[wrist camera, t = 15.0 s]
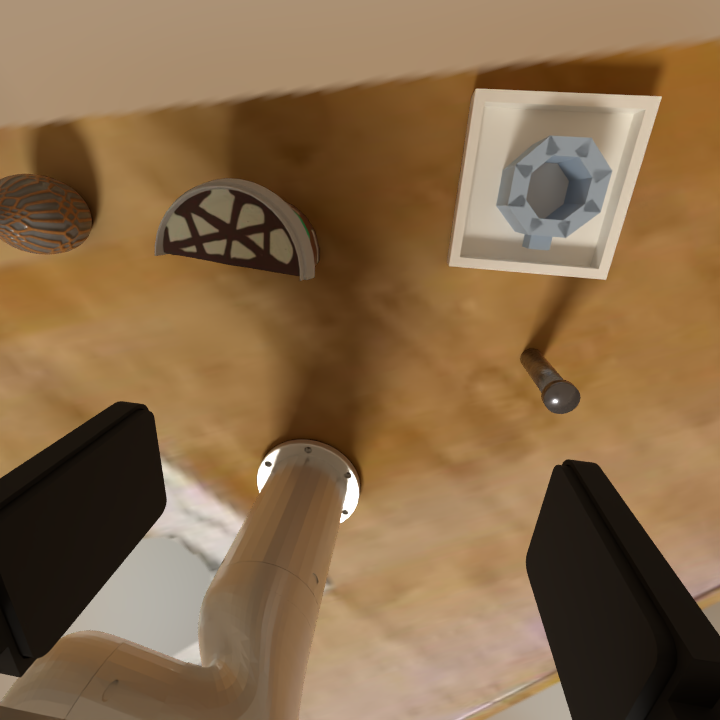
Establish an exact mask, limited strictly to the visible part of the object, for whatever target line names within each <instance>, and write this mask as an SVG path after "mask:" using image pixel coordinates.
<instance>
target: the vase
mask: <svg viewBox="0 0 720 720" xmlns="http://www.w3.org/2000/svg"><path fill="white" fill-rule="evenodd" d="M91 227H92V218H91V213H90V210H89V208H88V206H87V204H86V202H85V201H84V200H83V198H82V197H81V196H80V195H79V194H78V193H77V192H76V191H75V190H74V189H72V188H71V187H69V186H68V185H66V184H64V183H63V182H60V181H58V180H56V179H53V178H50V177H47V176H42V175H35V174H17V175H12V176H8V177H5V178H2V179H0V239H1V240H2V241H4V242H6V243H7V244H9V245H11V246H13V247H15V248H17V249H20V250H23V251H26V252H30V253H36V254H58V253H63V252H67V251H70V250H72V249H75V248H76V247H78V246H79V245H81V244H82V243H83V242H84V241H85V240H86V239H87V238H88V236H89V234H90V231H91Z"/></svg>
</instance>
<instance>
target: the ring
mask: <svg viewBox="0 0 720 720" xmlns="http://www.w3.org/2000/svg"><path fill="white" fill-rule="evenodd" d="M544 163H557V164H558V165H559V167H560V168H561V170H562V171H563V173H564V174H565V176H566V177H567V179H568V180H569V184H568V188H567V192H566V196H565V200H564V204H563V205H562V206H560V207H559V208H558V209H556V210H555V211H554V212H553V213H551V214H550V215H549V216H547V217H546V218H545V219H543V218H538V216H537V215H536V213H535V212H534V211H533V209H532V208H531V206H530V205H529V203H528V202H527V201H526V197H527V192H528V187H529V182H530V178H531V173H533V172H534V171H535V170H536V169H538V168H539V167H540V166H541V165H542V164H544ZM611 174H612V169H611V168H610V166H609V165H608V163H607V162H606V160H605V158H604V157H603V155H602V154H601V152H600V150H599V149H598V147H597V146H596V144H595V143H594V141H593V139H592V138H585V137H567V136H551V135H550V136H548V137H546V138H544V139H542V140H540V141H539V142H537V143H535V144H533V145H532V146H531V147H529V148H528V149H527V150H526V151H525V152H524V153H522V154H521V155H520V156H519V157H518V158H516V159H515V160H514V161H513V162H512V163H511V164H509V165H508V166H507V167H506V168H505V169H503V170H502V176H501V182H500V187H499V193H498V198H497V203H496V206H497V208H498V209H499V211H500V212H501V213H502V215H503V216H504V217H505V219H506V220H507V222H508V223H509V224H510V226H511V227H512V229H513V230H514V231H515V232H518V233H522V234H525V235H524V240H523V244H522V247H525V248H528V249H537V250H549V249H550V245H551V241H552V237H562V238H567V237H568V236H569V235H570V234H572V233H573V232H574V231H576V230H577V229H579V228H580V227H581V226H583V225H584V224H585V223H587V222H588V221H589V220H591V219H592V218H594V217H595V216H596V215H598V214H599V213H601V209H602V206H603V202H604V198H605V195H606V191H607V188H608V184H609V181H610V177H611Z"/></svg>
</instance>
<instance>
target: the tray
mask: <svg viewBox="0 0 720 720" xmlns="http://www.w3.org/2000/svg"><path fill="white" fill-rule="evenodd" d="M661 98H662V97H660V96H637V95H614V94H591V93H568V92H545V91H522V90H499V89H475V91H474V93H473V95H472V97H471V103H470V110H469V116H468V123H467V130H466V136H465V143H464V150H463V157H462V163H461V170H460V177H459V184H458V190H457V197H456V204H455V210H454V217H453V224H452V231H451V237H450V244H449V251H448V258H447V263H448V265H449V266H454V267H466V268H477V269H489V270H500V271H512V272H523V273H535V274H546V275H558V276H569V277H581V278H592V279H604V280H606V278H607V275H608V271H609V268H610V265H611V262H612V258H613V255H614V252H615V249H616V245H617V242H618V239H619V235H620V232H621V229H622V226H623V222H624V219H625V216H626V212H627V209H628V206H629V203H630V199H631V196H632V193H633V190H634V186H635V183H636V180H637V176H638V173H639V170H640V167H641V163H642V160H643V157H644V153H645V150H646V147H647V144H648V140H649V137H650V134H651V130H652V127H653V124H654V121H655V117H656V114H657V111H658V108H659V104H660V101H661ZM550 135H551V136H567V137H585V138H592V139H593V141H594V143H595V144H596V146H597V147H598V149H599V150H600V152H601V154H602V155H603V157H604V158H605V160H606V162H607V163H608V165H609V166H610V168H611V169H612V174H611V177H610V181H609V184H608V188H607V191H606V195H605V198H604V202H603V206H602V209H601V213H599V214H598V215H596V216H595V217H594V218H592V219H591V220H589V221H588V222H587V223H585V224H584V225H583V226H581V227H580V228H579V229H577V230H576V231H574V232H573V233H572V234H570V235H569V236H568V237H567V238H562V237H552V241H551V245H550V249H549V250H537V249H528V248H525V247H522V244H523V240H524V235H525V234H522V233H518V232H515V231H514V230H513V229H512V227H511V226H510V224H509V223H508V222H507V220H506V219H505V217H504V216H503V215H502V213H501V212H500V211H499V209H498V208H497V206H496V203H497V198H498V193H499V187H500V182H501V176H502V170H503V169H505V168H506V167H507V166H508V165H509V164H511V163H512V162H513V161H514V160H515V159H516V158H518V157H519V156H520V155H521V154H522V153H524V152H525V151H526V150H527V149H528V148H529V147H531V146H532V145H533V144H535V143H537V142H539V141H540V140H542V139H544V138H546V137H548V136H550ZM568 184H569V180H568V179H567V177H566V176H565V174H564V173H563V171H562V170H561V168H560V167H559V165H558V164H557V163H544V164H542V165H541V166H540V167H539V168H538V169H536V170H535V171H534V172H533V173H531V178H530V182H529V187H528V192H527V197H526V201H527V202H528V203H529V205H530V206H531V208H532V209H533V211H534V212H535V213H536V215H537V216H538V218H543V219H545V218H546V217H547V216H549V215H550V214H551V213H553V212H554V211H555V210H556V209H558V208H559V207H560V206H562V205H563V204H564V200H565V196H566V192H567V188H568Z"/></svg>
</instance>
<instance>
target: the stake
mask: <svg viewBox="0 0 720 720" xmlns="http://www.w3.org/2000/svg"><path fill="white" fill-rule="evenodd" d="M520 361H521V363H522V365H523V366H524V368H525V369H526V371H527V372H528V374H529V375H530V377H531V378H532V379H533V381H534V382H535V384H536V385H537V387H538V388H539V390H540V391H541V393H542V394H541V397H542V401H543V403H544V404H545V406H546V407H547V408H548V410H550V411H551V412H553V413H557V414H564V413H568V412H570V411H572V410H573V409H575V408H576V407H577V405H578V404H579V402H580V393H579V391H578V390H577V388H576V387H575V386H574V385H573V384H572V383H571V382H569V381H566V380H563V378H562V377H561V376H560V375H559V374H558V373H557V371H556V370H555V369H554V368H553V367H552V366H551V364H550V363H549V362H548V361H547V360H546V359H545V357H544V356H543V355H542V354H541V353H540V352H539V351H538V350H536V349H528V350H526V351H524V352H523V353H522V355H521V358H520Z"/></svg>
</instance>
